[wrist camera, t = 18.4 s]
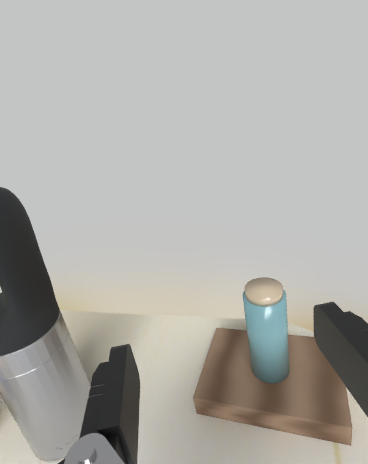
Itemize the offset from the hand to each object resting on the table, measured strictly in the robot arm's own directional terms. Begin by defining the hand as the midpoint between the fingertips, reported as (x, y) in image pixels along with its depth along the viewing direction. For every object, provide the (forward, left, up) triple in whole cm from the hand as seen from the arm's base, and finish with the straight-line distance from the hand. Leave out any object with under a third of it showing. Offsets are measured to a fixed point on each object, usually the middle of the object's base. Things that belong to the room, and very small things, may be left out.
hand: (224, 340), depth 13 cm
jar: (-12, +17, -25) cm, 33 cm away
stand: (-12, +17, -28) cm, 35 cm away
